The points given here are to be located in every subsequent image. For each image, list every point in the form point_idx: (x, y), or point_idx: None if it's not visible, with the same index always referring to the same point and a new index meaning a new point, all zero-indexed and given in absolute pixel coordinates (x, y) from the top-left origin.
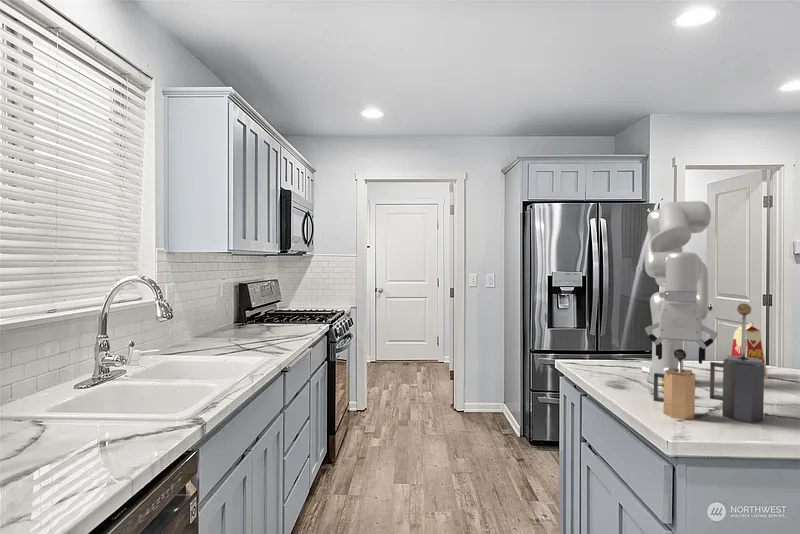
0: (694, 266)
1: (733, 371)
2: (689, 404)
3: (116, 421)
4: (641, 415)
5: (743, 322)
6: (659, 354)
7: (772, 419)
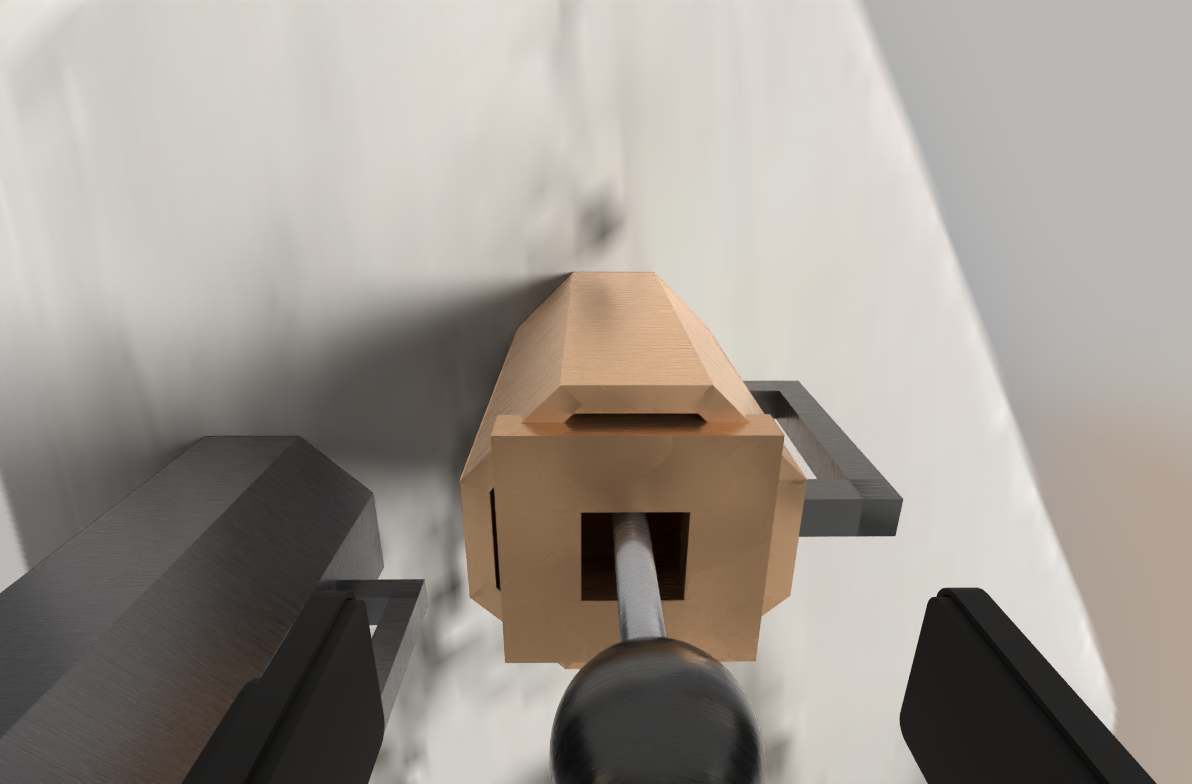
0: None
1: (57, 710)
2: (536, 329)
3: None
4: (855, 201)
5: None
6: (1008, 646)
7: None
